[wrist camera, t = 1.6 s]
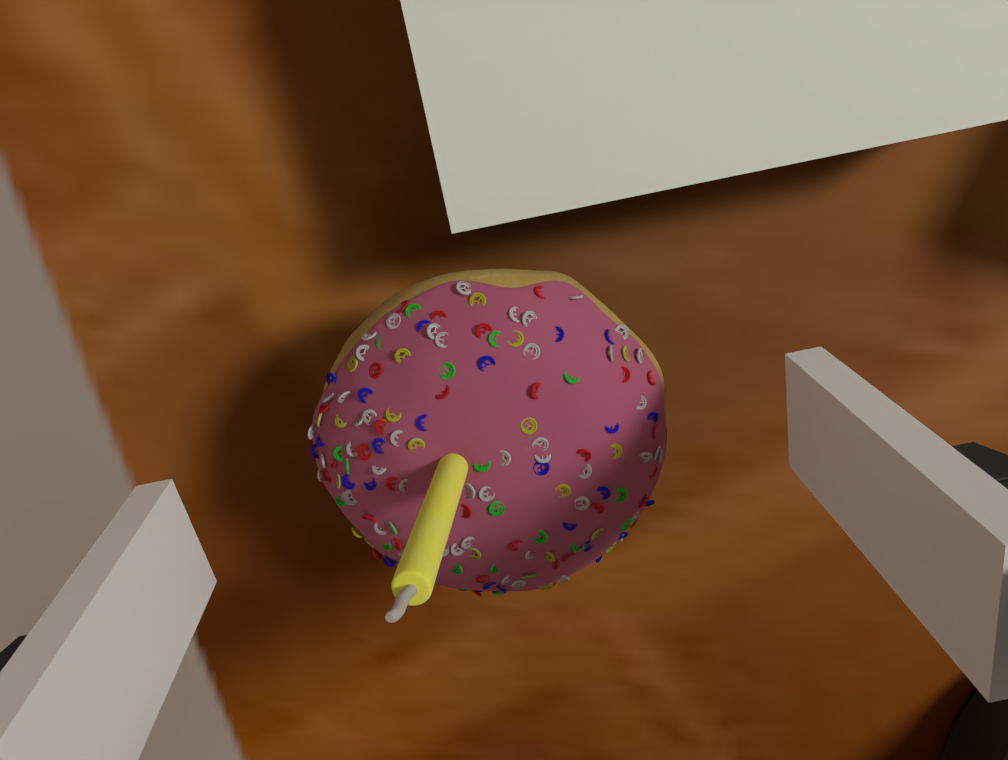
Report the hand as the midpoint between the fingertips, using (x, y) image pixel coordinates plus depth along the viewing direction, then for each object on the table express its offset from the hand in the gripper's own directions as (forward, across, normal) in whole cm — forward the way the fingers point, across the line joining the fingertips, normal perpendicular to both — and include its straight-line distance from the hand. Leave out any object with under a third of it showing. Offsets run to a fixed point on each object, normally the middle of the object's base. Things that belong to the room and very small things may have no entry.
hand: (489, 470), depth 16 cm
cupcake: (+7, 0, +1) cm, 7 cm away
